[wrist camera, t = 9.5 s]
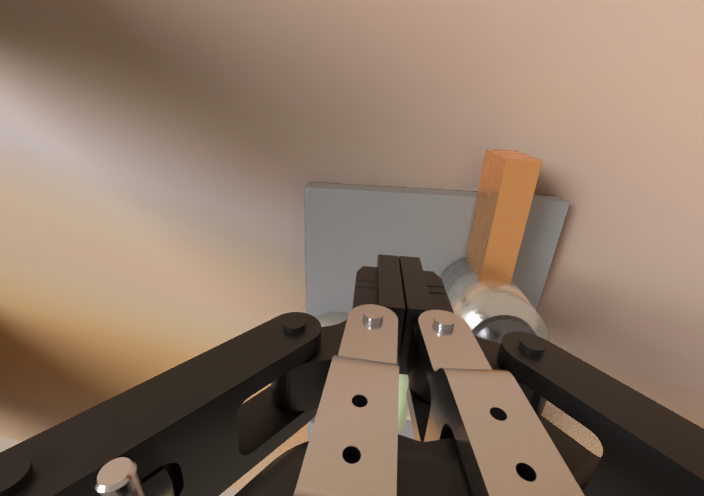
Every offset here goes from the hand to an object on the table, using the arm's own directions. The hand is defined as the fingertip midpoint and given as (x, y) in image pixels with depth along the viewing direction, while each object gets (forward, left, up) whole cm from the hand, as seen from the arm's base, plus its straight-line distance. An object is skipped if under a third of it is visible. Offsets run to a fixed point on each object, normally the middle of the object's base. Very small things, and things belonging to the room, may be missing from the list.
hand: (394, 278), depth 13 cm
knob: (+3, +7, -11) cm, 13 cm away
